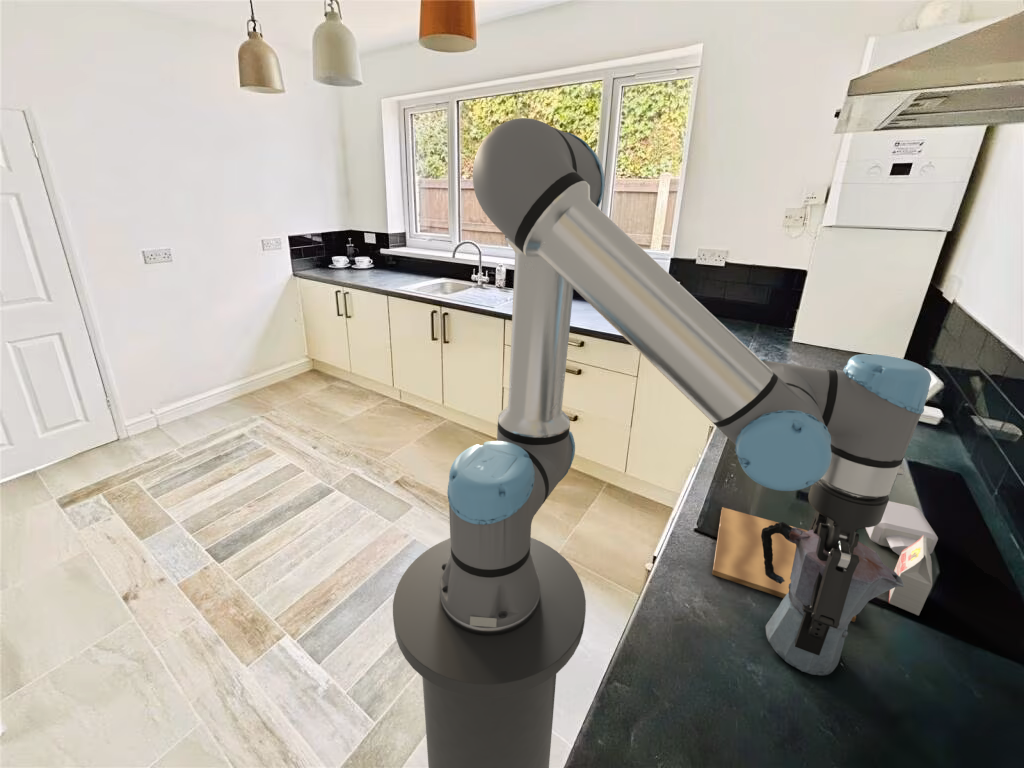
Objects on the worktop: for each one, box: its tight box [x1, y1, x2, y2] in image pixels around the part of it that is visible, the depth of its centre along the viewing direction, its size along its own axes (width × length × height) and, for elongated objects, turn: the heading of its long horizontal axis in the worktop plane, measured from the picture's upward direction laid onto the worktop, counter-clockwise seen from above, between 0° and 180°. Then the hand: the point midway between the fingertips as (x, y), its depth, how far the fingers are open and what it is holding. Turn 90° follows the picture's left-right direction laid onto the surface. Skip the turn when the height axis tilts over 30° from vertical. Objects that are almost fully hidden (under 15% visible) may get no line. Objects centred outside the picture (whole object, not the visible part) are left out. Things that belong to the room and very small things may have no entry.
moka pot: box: [761, 521, 904, 676], centre depth 61 cm, size 10×15×20 cm, turn 53°
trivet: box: [711, 506, 857, 623], centre depth 81 cm, size 20×20×1 cm
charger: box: [865, 500, 939, 559], centre depth 84 cm, size 5×9×15 cm
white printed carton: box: [888, 535, 933, 617], centre depth 72 cm, size 4×7×10 cm, turn 140°
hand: (804, 623), depth 63 cm, fingers closed on moka pot, 8 cm apart
